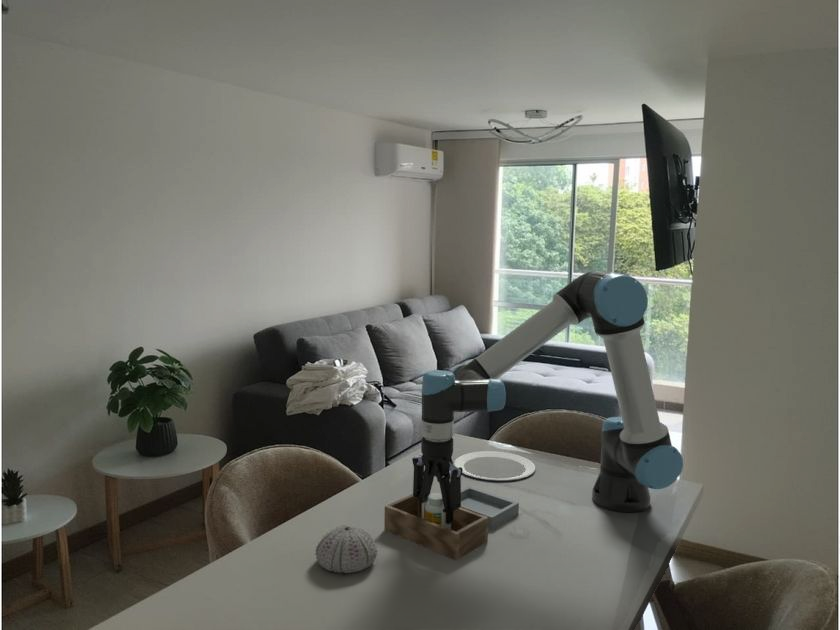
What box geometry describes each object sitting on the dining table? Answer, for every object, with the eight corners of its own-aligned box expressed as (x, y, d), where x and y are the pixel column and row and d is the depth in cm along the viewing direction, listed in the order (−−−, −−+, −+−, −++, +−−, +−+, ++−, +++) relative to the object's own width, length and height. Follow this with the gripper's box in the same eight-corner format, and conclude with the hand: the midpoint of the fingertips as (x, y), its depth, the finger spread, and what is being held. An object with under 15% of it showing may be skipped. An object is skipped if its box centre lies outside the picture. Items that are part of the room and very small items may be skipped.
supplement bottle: (438, 527, 165) (439, 489, 163) (451, 536, 160) (452, 497, 159) (420, 532, 162) (420, 494, 160) (433, 541, 157) (433, 502, 156)
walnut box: (487, 541, 158) (488, 517, 158) (456, 560, 149) (456, 534, 149) (416, 514, 173) (417, 491, 172) (384, 529, 164) (384, 506, 163)
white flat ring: (548, 464, 211) (548, 460, 211) (514, 490, 190) (514, 486, 190) (477, 449, 224) (477, 445, 224) (438, 471, 204) (438, 467, 203)
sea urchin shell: (304, 559, 149) (304, 525, 148) (357, 543, 157) (357, 510, 156) (335, 585, 138) (335, 548, 137) (389, 566, 146) (390, 531, 145)
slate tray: (518, 513, 174) (518, 502, 173) (491, 529, 165) (492, 517, 164) (468, 496, 184) (468, 486, 184) (440, 510, 175) (441, 499, 175)
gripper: (397, 432, 161) (396, 525, 164) (458, 449, 149) (456, 549, 152) (418, 425, 166) (417, 515, 170) (478, 441, 155) (476, 537, 158)
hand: (435, 531), depth 161 cm, fingers closed on supplement bottle, 5 cm apart
